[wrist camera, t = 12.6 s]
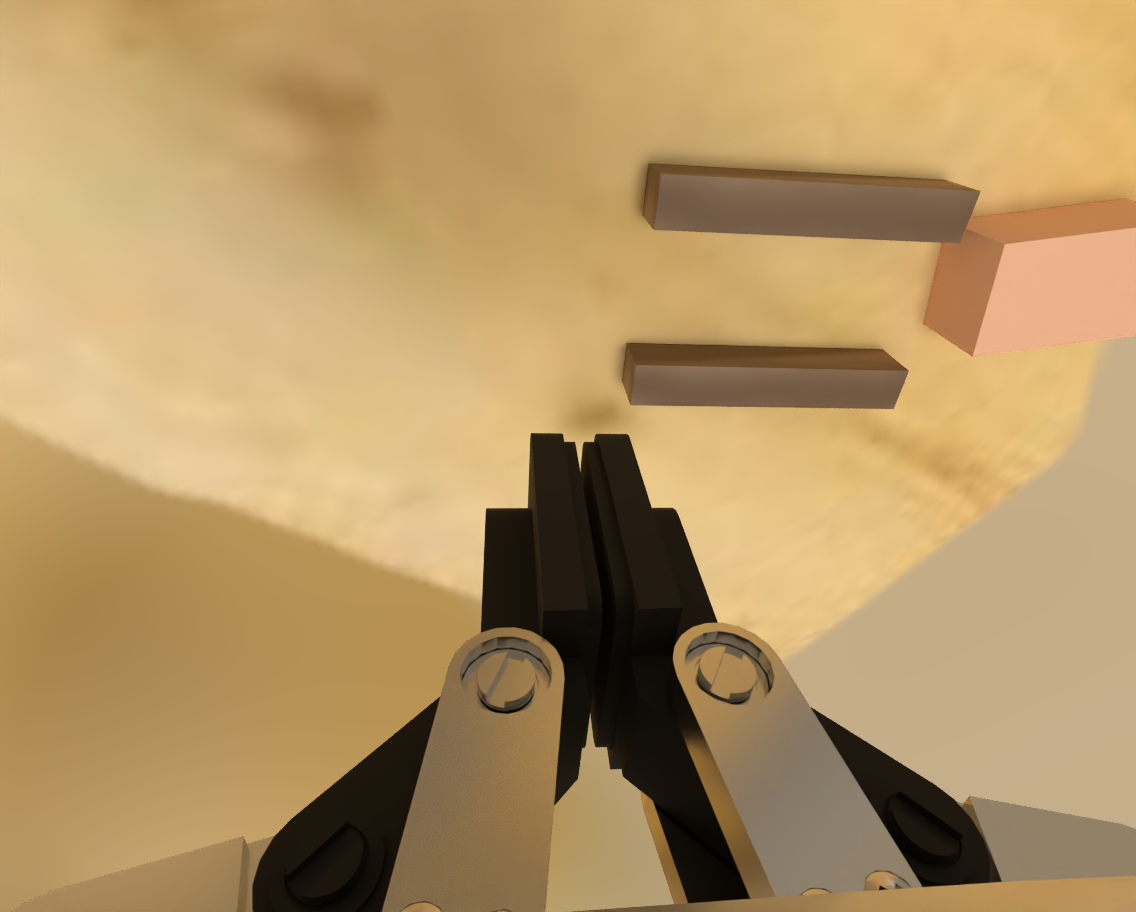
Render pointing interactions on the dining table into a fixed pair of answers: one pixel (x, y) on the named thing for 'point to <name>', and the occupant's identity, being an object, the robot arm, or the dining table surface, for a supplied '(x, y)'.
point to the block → (1038, 279)
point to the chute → (790, 211)
